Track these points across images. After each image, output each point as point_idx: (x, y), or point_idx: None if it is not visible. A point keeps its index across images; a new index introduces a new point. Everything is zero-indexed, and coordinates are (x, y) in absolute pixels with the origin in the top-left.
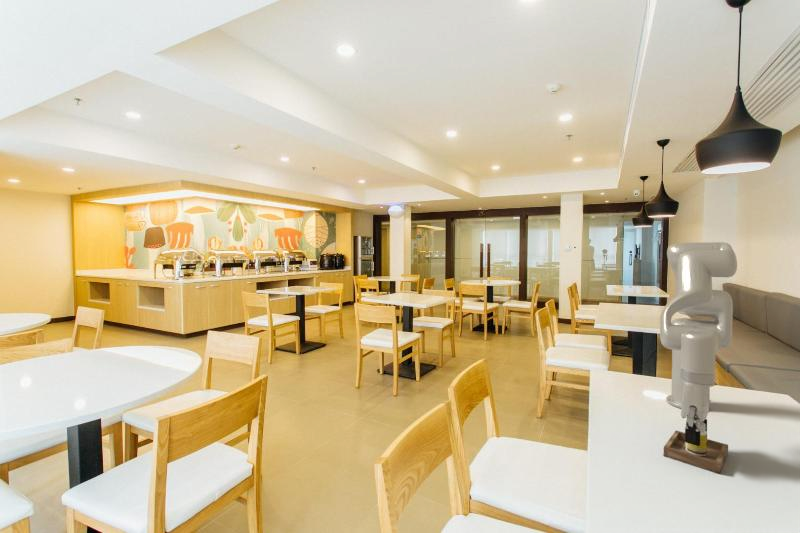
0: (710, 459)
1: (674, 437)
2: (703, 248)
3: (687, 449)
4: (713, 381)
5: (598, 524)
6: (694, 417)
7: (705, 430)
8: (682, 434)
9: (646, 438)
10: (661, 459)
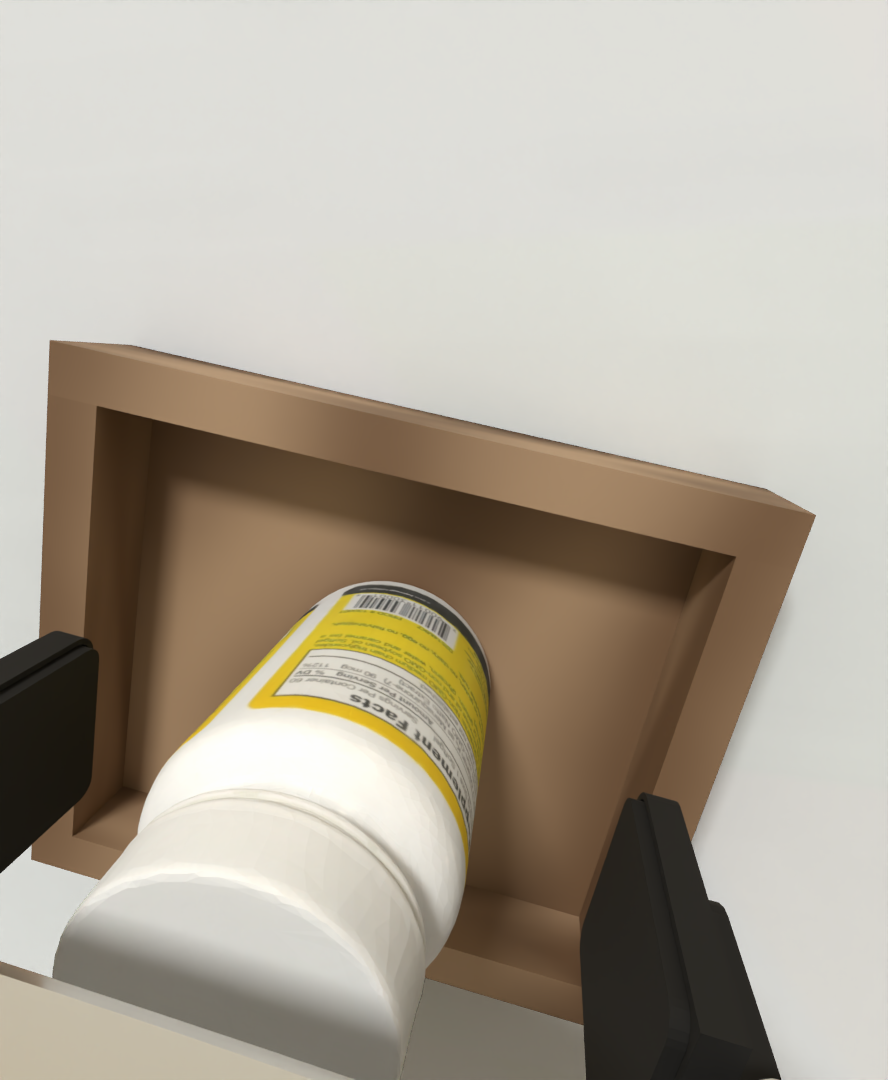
0: None
1: (483, 484)
2: None
3: (314, 606)
4: None
5: None
6: (666, 1044)
7: (585, 974)
8: (713, 594)
9: (548, 102)
10: (33, 325)
